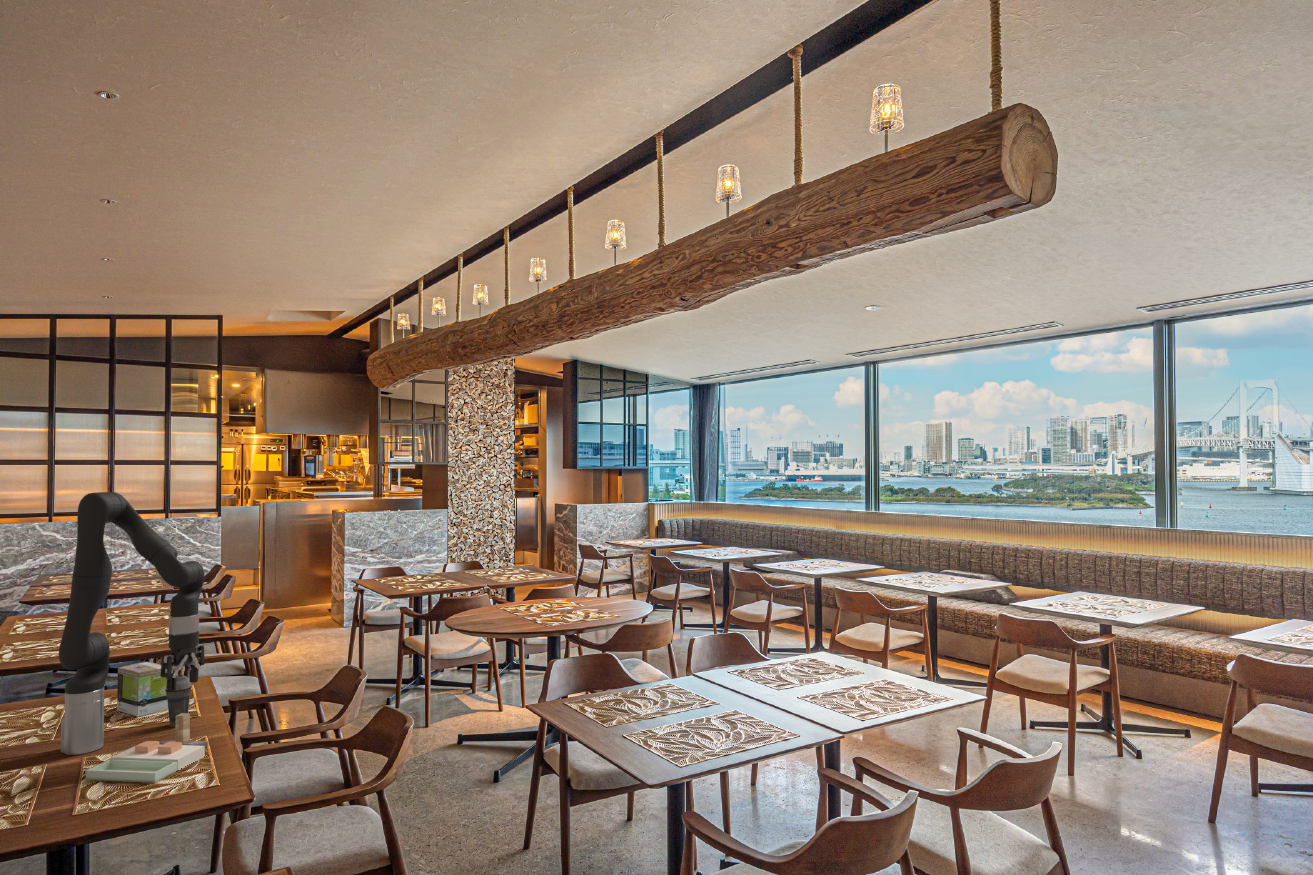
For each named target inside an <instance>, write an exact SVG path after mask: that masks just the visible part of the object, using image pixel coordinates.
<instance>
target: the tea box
mask: <svg viewBox="0 0 1313 875" xmlns="http://www.w3.org/2000/svg"><path fill="white" fill-rule="evenodd" d="M165 673H167V669H166V670H165ZM160 675H161V663H155V662H150V661H144V662H139V663H135V664H130V665H129V664H128V665H125V666H120V667H118V668H117V688H116V691H117V692H116V693H117V696H116V697H117V698H116V710H117V711H118V712H122V713H125V714H129V715H131V716H133V717H137V718H138V717H139V718H140V717H143V716H148V715H151V714H155V713H156V714H157V713H159V712H163V711H167V710H168V700H167V695H166V691H165V690H166V686H167V678H165V677H161V676H160Z"/></svg>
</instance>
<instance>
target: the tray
mask: <svg viewBox="0 0 1313 875" xmlns="http://www.w3.org/2000/svg"><path fill="white" fill-rule="evenodd" d="M176 771H177V762H172V761H145V760H118V759H111V758H110V759H108V760H106V761H103V762H102V763H100V764H97V765H95V766H92V767H91V768H89V769H86V770H85V781H99V782H100V781H103V782H121V781H122V782H124V783H147V784H148V783H149V784H151V783H152V784H156V783H158V782H160V781H161V780H164V779H165V778H167V777H170V776H172V775H173V774H175V773H177V772H178V771H177V772H176Z"/></svg>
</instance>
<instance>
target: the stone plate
mask: <svg viewBox="0 0 1313 875" xmlns="http://www.w3.org/2000/svg"><path fill="white" fill-rule="evenodd" d="M161 745H163V744H159V746H161ZM135 746H136V745H134V746H132V747H130V748H128V749H126V750H124V751H122V752H120V753H117V754H114V755H112V756H110V759H118V760H145V761H172V762H177V770H179V771H180V770H182V769H184V768H186V767H188V766H190V765H191V763H192V764H193V762H194V763H196V762H197V761H199V760H201V759H203V758H205V753H206V752H205V751H206V749H205V746H193V745H182V749H180V750H178V751H176V752H174V753H172V754H158V749H156V750H154V751H152V752H149V753H135ZM195 761H196V762H195ZM189 764H190V765H189ZM187 765H188V766H187ZM185 766H186V767H185ZM181 768H182V769H181Z"/></svg>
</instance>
